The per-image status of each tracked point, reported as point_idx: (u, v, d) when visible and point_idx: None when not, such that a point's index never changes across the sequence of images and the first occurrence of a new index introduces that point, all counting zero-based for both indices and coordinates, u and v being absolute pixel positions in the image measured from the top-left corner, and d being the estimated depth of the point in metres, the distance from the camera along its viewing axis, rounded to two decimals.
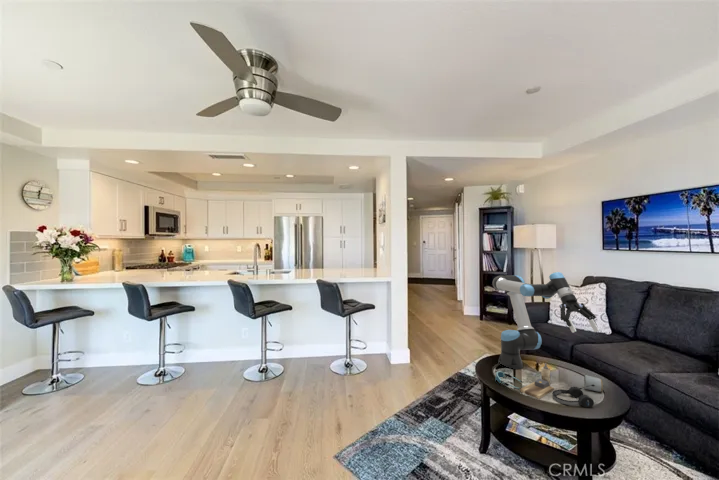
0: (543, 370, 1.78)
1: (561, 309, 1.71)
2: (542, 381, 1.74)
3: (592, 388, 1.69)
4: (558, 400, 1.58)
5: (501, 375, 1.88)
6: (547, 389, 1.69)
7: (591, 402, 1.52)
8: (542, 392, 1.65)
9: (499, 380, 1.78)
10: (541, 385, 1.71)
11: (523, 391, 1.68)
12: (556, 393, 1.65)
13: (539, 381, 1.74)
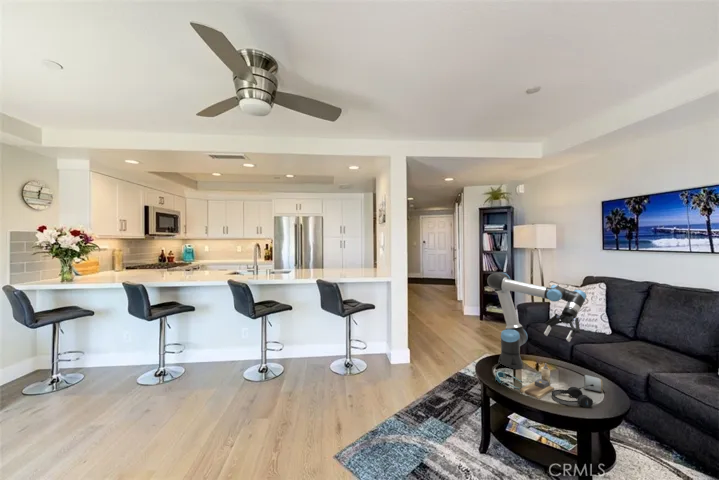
0: (543, 370, 1.78)
1: (578, 323, 1.81)
2: (542, 381, 1.74)
3: (592, 388, 1.70)
4: (557, 400, 1.58)
5: (501, 375, 1.88)
6: (547, 389, 1.69)
7: (590, 402, 1.52)
8: (542, 392, 1.65)
9: (499, 380, 1.78)
10: (541, 385, 1.71)
11: (523, 391, 1.68)
12: (555, 393, 1.65)
13: (539, 381, 1.74)
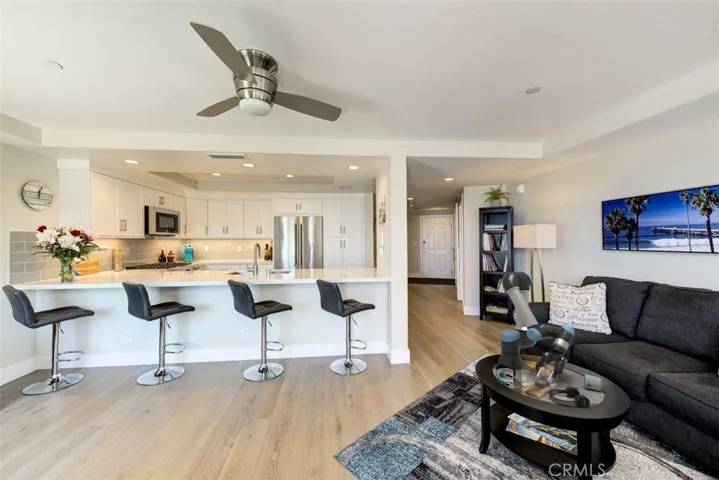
0: (543, 370, 1.78)
1: (563, 363, 1.75)
2: (542, 381, 1.74)
3: (592, 387, 1.70)
4: (554, 400, 1.58)
5: (502, 375, 1.88)
6: (547, 389, 1.69)
7: (587, 402, 1.53)
8: (542, 392, 1.65)
9: (500, 380, 1.78)
10: (541, 385, 1.71)
11: (523, 391, 1.68)
12: (553, 393, 1.65)
13: (539, 381, 1.74)
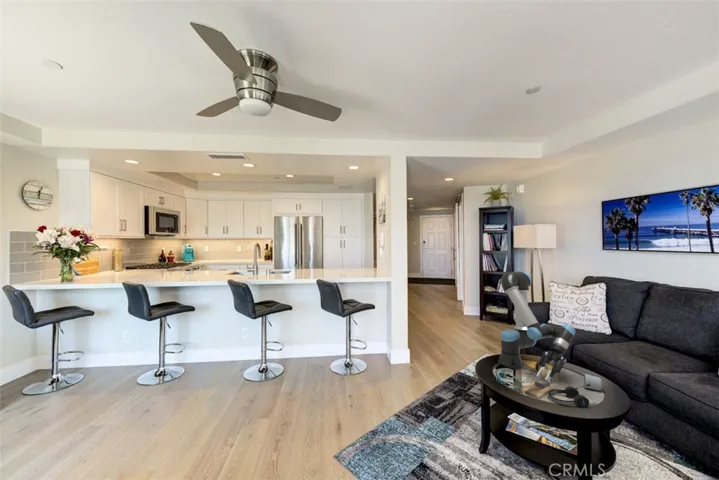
0: (544, 370, 1.77)
1: (562, 363, 1.76)
2: (542, 381, 1.74)
3: (592, 387, 1.71)
4: (554, 400, 1.58)
5: (502, 375, 1.88)
6: (547, 389, 1.69)
7: (586, 402, 1.53)
8: (542, 392, 1.65)
9: (500, 380, 1.78)
10: (541, 385, 1.71)
11: (523, 391, 1.68)
12: (552, 393, 1.65)
13: (539, 381, 1.74)
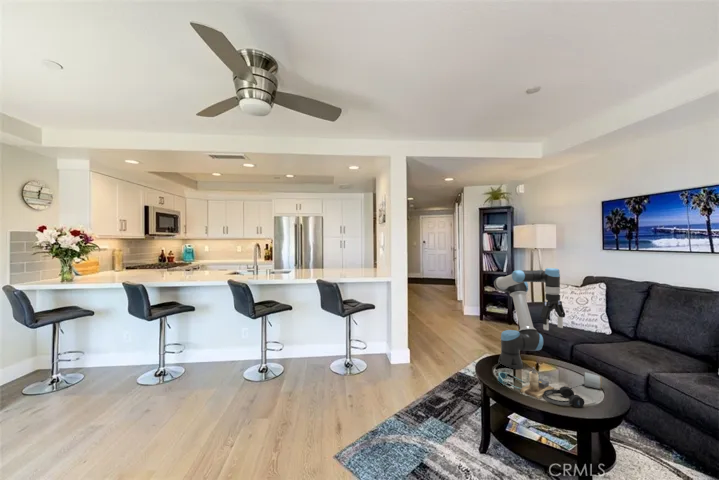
0: (531, 375, 1.68)
1: (544, 307, 1.79)
2: (542, 381, 1.74)
3: (591, 385, 1.73)
4: (549, 400, 1.57)
5: (503, 375, 1.87)
6: (547, 389, 1.69)
7: (582, 402, 1.53)
8: (542, 392, 1.65)
9: (501, 381, 1.77)
10: (541, 385, 1.71)
11: (523, 391, 1.68)
12: (547, 393, 1.65)
13: (539, 381, 1.74)
